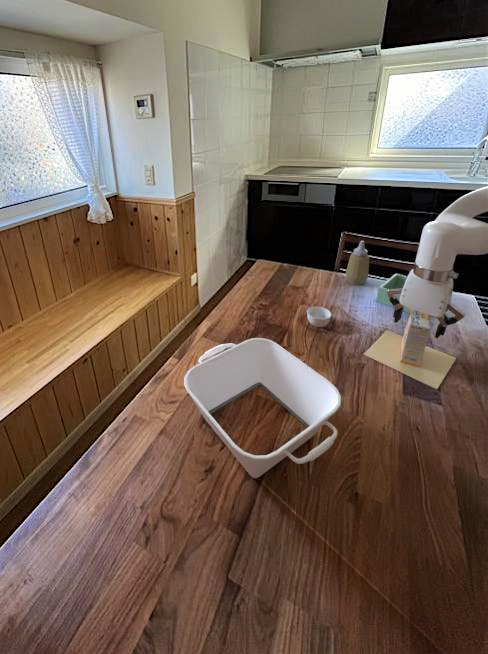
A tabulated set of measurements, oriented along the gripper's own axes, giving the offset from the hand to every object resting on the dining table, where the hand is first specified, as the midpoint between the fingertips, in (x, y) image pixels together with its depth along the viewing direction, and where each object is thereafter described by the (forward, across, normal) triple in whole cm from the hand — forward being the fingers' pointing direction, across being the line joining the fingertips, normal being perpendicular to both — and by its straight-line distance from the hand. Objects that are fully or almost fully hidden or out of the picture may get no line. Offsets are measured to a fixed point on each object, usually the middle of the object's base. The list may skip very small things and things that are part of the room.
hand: (416, 327), depth 90 cm
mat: (+11, 0, 0) cm, 11 cm away
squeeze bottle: (+11, +30, -32) cm, 45 cm away
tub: (+11, +15, +48) cm, 52 cm away
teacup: (+11, +26, +3) cm, 28 cm away
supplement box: (+10, 0, 0) cm, 10 cm away
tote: (+11, +12, -30) cm, 34 cm away
